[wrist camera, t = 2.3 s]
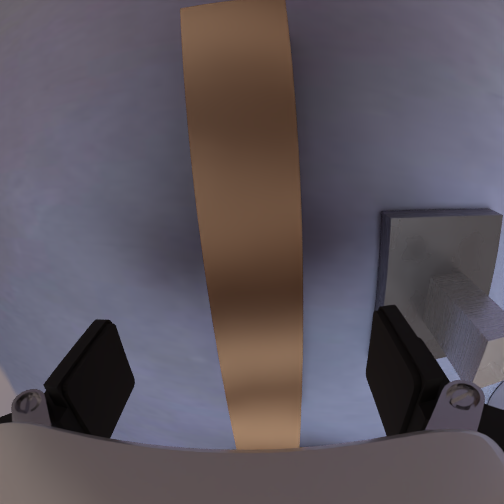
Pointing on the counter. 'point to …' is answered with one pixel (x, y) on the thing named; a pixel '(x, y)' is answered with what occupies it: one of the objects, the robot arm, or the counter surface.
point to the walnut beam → (249, 209)
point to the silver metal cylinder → (498, 397)
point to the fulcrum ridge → (446, 285)
